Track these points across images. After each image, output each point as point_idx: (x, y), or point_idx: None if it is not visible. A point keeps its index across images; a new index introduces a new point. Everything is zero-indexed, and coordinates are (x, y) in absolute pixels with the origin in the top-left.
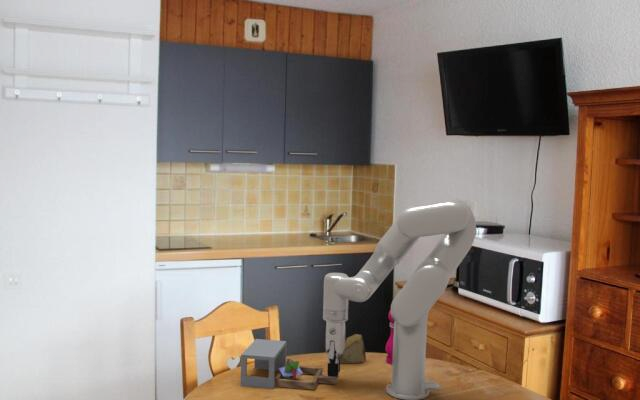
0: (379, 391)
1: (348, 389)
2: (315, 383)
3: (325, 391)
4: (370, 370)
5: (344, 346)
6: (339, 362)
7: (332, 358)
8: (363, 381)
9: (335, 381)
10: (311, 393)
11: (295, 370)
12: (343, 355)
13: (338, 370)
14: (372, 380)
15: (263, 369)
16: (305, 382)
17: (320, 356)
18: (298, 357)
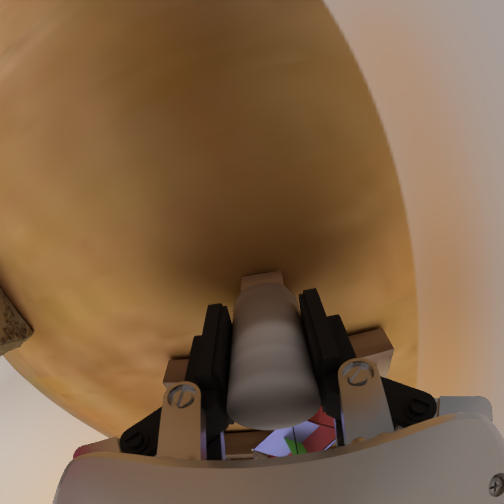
0: (273, 3)
1: (320, 181)
2: (373, 347)
3: (381, 284)
4: (2, 182)
5: (165, 496)
6: (219, 359)
7: (485, 402)
8: (137, 139)
9: (282, 282)
10: (408, 322)
11: (289, 438)
12: (2, 329)
13: (268, 315)
14: (100, 100)
15: (229, 459)
16: (386, 376)
17: (35, 375)
18: (86, 418)
